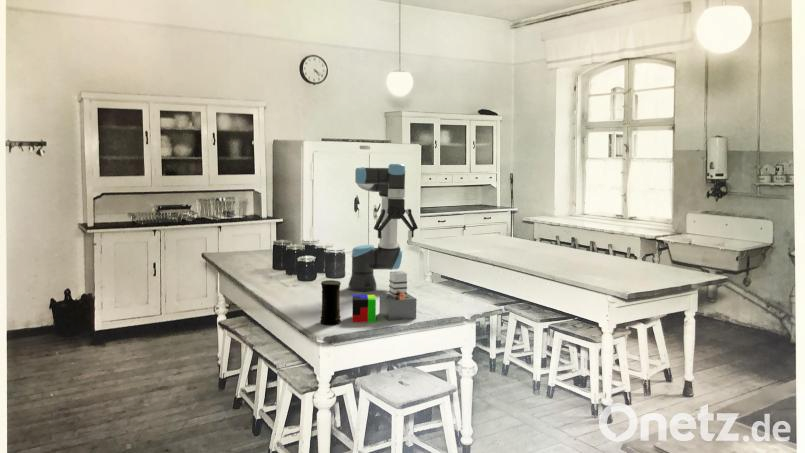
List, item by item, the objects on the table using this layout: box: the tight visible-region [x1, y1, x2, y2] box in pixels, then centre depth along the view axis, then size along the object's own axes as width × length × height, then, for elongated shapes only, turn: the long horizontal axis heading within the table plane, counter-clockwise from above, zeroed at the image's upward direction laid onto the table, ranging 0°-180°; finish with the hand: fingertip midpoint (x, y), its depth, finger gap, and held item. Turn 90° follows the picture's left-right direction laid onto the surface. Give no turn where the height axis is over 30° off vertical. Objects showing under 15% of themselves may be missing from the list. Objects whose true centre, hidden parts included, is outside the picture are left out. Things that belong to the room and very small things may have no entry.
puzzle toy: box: [351, 294, 377, 323], centre depth 292 cm, size 10×10×10 cm
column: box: [388, 270, 408, 299], centre depth 298 cm, size 6×6×20 cm
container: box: [319, 279, 342, 326], centre depth 285 cm, size 9×9×18 cm
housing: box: [378, 292, 418, 322], centre depth 298 cm, size 13×13×12 cm
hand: (395, 245), depth 298 cm, fingers open, 13 cm apart
